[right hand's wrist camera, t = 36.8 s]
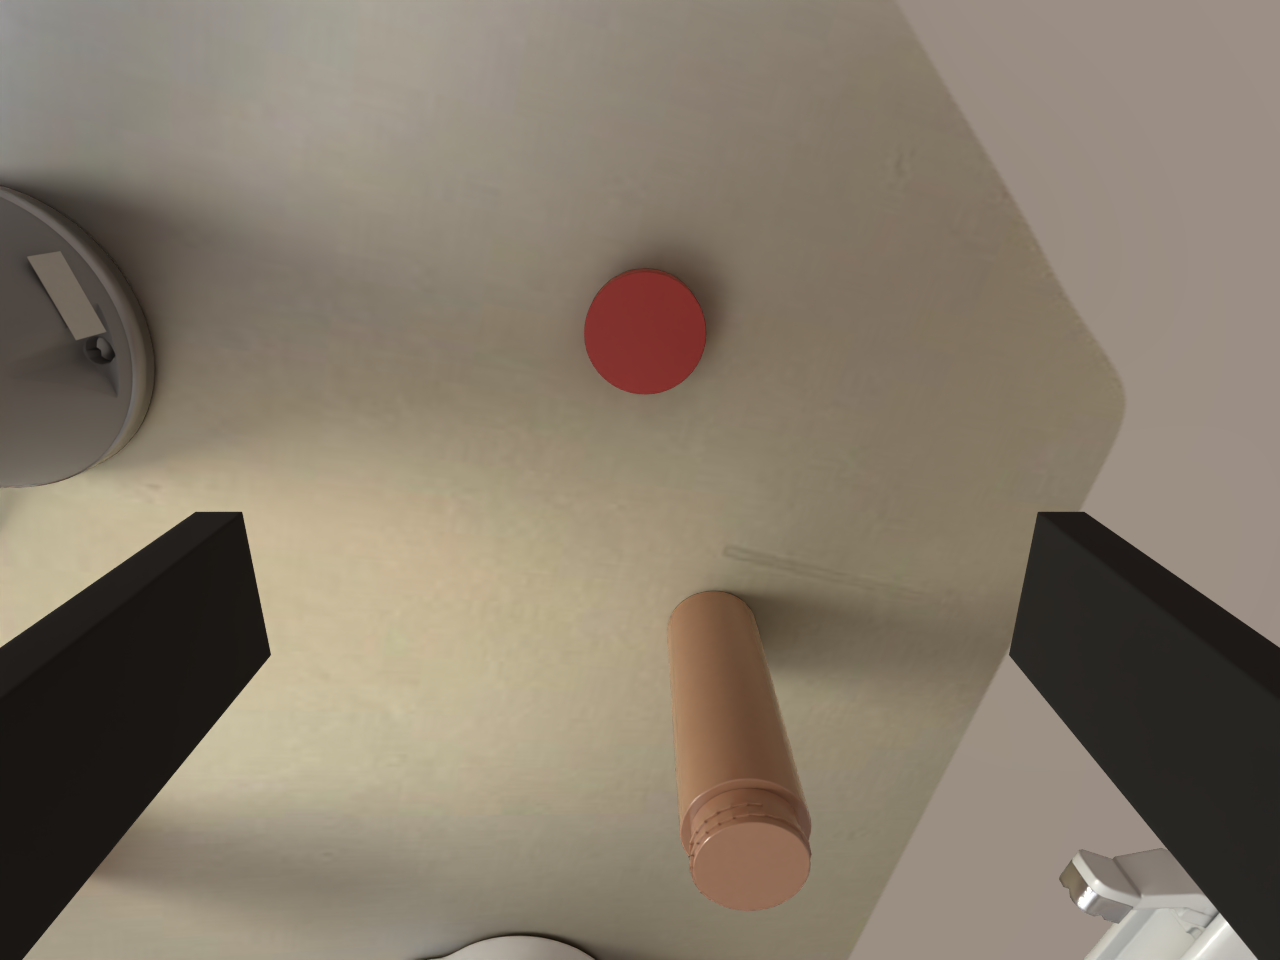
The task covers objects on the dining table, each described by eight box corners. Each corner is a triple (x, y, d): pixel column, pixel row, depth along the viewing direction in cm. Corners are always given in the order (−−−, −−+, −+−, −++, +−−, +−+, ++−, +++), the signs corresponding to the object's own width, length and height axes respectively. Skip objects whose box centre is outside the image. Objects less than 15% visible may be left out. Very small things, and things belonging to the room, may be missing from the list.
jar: (716, 573, 44) (761, 790, 28) (774, 632, 45) (849, 871, 29) (648, 627, 45) (653, 864, 29) (706, 683, 46) (742, 939, 30)
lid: (563, 338, 39) (560, 345, 37) (634, 243, 37) (633, 245, 35) (654, 407, 40) (655, 417, 38) (726, 317, 39) (731, 323, 37)
